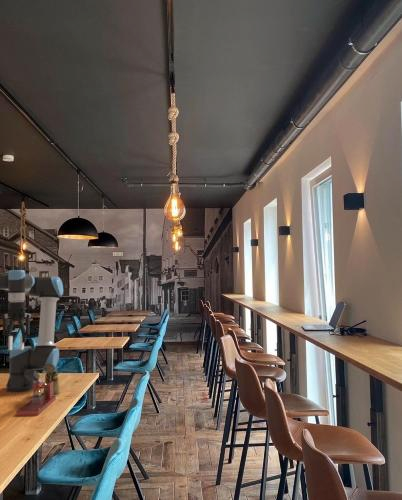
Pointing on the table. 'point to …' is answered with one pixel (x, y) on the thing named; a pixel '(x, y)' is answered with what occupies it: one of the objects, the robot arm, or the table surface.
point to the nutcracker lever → (34, 378)
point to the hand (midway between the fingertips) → (16, 349)
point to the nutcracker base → (38, 407)
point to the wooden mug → (51, 378)
